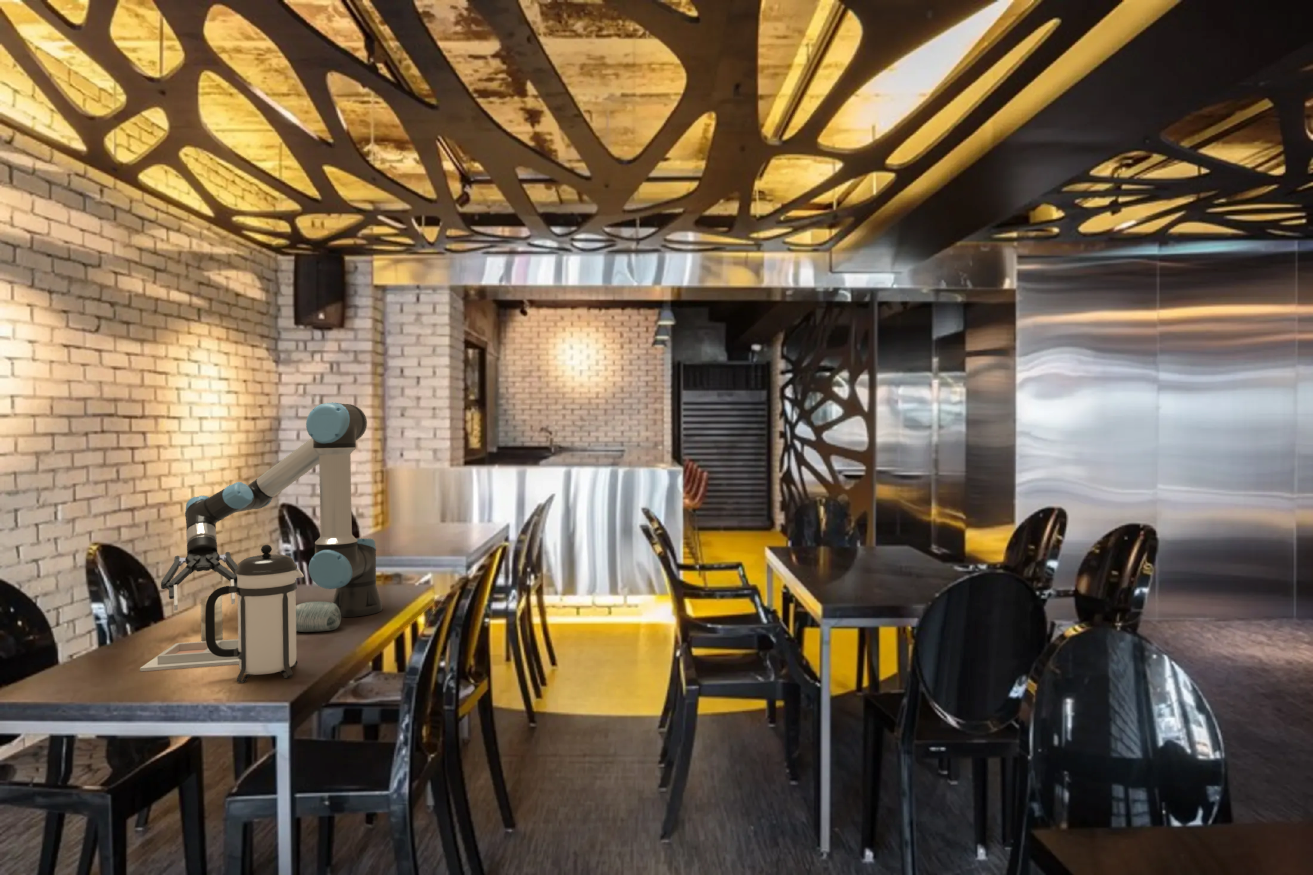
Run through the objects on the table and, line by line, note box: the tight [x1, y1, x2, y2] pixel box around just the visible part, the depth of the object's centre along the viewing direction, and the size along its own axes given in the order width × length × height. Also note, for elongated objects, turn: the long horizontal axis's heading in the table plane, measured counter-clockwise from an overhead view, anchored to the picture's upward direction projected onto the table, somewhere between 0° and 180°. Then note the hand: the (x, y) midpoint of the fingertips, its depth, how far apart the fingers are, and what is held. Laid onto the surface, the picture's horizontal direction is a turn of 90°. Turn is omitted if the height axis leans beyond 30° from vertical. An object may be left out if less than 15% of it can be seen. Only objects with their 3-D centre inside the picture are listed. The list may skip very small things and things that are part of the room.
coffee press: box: [205, 544, 304, 684], centre depth 180 cm, size 17×16×30 cm
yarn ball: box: [296, 600, 342, 633], centre depth 221 cm, size 14×10×10 cm
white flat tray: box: [139, 638, 239, 672], centre depth 195 cm, size 26×16×3 cm, turn 103°
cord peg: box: [200, 595, 224, 642], centre depth 210 cm, size 5×5×12 cm
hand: (205, 604), depth 213 cm, fingers open, 13 cm apart
